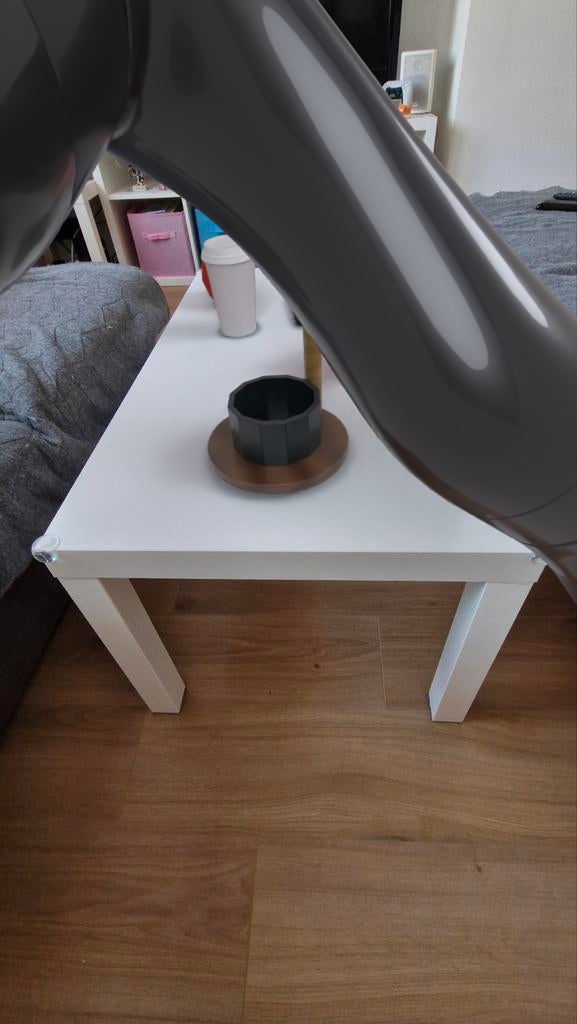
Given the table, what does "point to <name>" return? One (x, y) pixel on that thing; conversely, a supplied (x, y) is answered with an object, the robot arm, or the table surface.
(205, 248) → the coffee cup
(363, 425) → the table surface
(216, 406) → the table surface
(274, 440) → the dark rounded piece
